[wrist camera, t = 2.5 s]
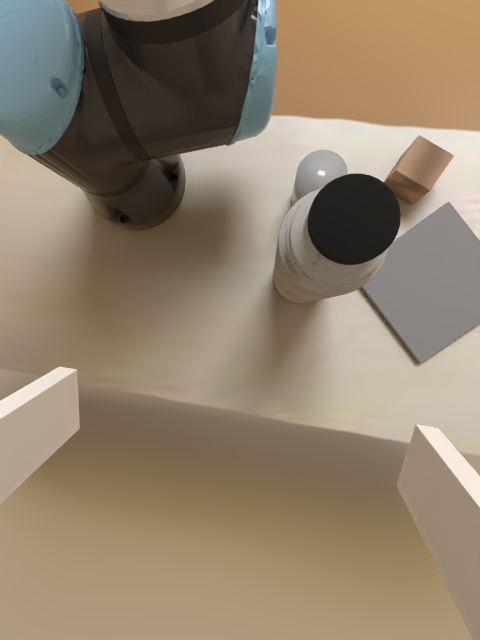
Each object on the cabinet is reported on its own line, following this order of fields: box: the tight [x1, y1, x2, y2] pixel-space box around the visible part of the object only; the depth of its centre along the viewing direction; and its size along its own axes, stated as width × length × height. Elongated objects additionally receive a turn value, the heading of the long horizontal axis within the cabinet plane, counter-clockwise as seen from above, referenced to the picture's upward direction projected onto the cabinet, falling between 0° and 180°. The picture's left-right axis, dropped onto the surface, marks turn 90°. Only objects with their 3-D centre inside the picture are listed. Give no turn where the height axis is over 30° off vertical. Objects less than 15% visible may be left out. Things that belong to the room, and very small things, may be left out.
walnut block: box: [384, 135, 454, 204], centre depth 39 cm, size 5×5×5 cm
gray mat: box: [361, 202, 480, 363], centre depth 41 cm, size 16×16×1 cm
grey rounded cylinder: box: [291, 150, 348, 206], centre depth 39 cm, size 6×6×8 cm
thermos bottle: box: [273, 174, 401, 303], centre depth 30 cm, size 8×8×28 cm
